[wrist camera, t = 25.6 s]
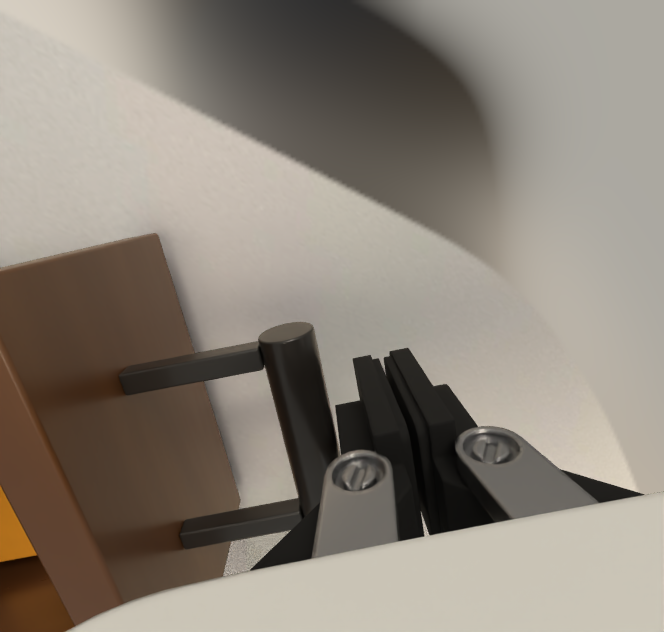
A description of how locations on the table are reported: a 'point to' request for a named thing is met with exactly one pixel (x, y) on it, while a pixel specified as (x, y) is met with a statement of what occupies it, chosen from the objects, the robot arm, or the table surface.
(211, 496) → the drawer
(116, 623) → the robot arm
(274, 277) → the table surface
